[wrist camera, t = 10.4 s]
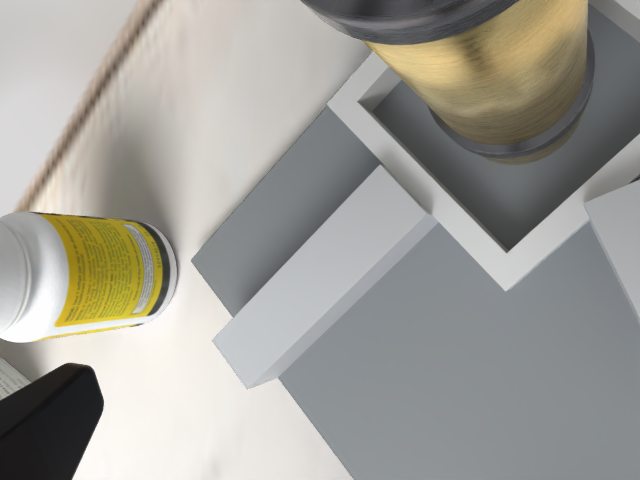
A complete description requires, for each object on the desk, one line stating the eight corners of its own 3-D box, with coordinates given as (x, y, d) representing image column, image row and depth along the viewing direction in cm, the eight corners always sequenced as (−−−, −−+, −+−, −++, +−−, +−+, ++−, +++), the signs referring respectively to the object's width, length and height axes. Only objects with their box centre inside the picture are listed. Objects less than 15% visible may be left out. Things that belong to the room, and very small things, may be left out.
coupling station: (1026, 270, 14) (1134, 273, 11) (482, 631, 19) (465, 693, 16) (524, -101, 19) (515, -160, 17) (202, 260, 24) (154, 260, 22)
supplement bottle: (153, 200, 26) (-28, 176, 18) (196, 292, 24) (22, 307, 17) (85, 255, 27) (-108, 254, 20) (123, 343, 26) (-67, 378, 18)
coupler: (623, 72, 17) (746, -459, 4) (537, 196, 18) (431, 50, 5) (498, 13, 19) (320, -505, 6) (424, 129, 20) (136, -106, 7)
